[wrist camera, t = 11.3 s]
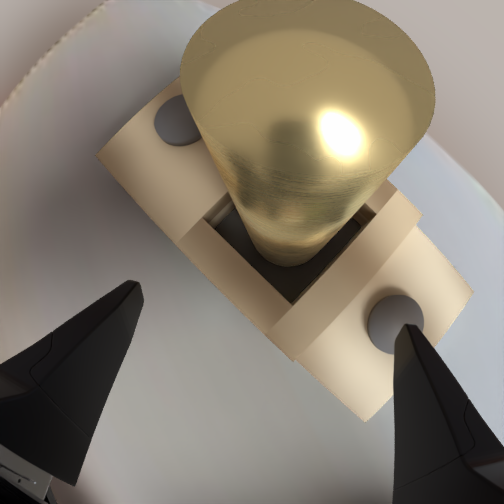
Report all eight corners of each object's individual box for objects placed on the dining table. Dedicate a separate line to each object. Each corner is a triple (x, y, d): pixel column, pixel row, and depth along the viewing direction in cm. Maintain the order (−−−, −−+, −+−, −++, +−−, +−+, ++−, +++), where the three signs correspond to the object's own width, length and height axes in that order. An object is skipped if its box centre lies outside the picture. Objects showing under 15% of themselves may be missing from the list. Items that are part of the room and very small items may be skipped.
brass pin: (270, 279, 18) (248, 230, 4) (237, 211, 19) (151, 34, 5) (338, 245, 18) (478, 124, 4) (304, 180, 19) (342, -23, 5)
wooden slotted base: (359, 413, 16) (375, 437, 13) (116, 172, 20) (90, 151, 16) (461, 292, 17) (493, 290, 13) (221, 76, 20) (212, 43, 16)
